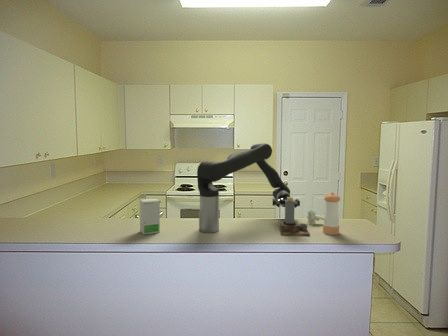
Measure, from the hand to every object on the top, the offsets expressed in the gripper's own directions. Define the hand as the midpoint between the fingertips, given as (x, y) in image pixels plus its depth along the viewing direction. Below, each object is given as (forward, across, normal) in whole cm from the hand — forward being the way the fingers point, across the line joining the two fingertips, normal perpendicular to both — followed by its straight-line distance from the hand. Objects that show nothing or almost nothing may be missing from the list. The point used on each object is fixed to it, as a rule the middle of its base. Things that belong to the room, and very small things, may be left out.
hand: (287, 205), depth 162 cm
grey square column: (+11, 0, +9) cm, 14 cm away
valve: (-3, +17, +10) cm, 20 cm away
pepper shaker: (+11, +19, +10) cm, 25 cm away
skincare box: (+17, -66, +10) cm, 69 cm away
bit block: (+11, +2, +10) cm, 15 cm away
